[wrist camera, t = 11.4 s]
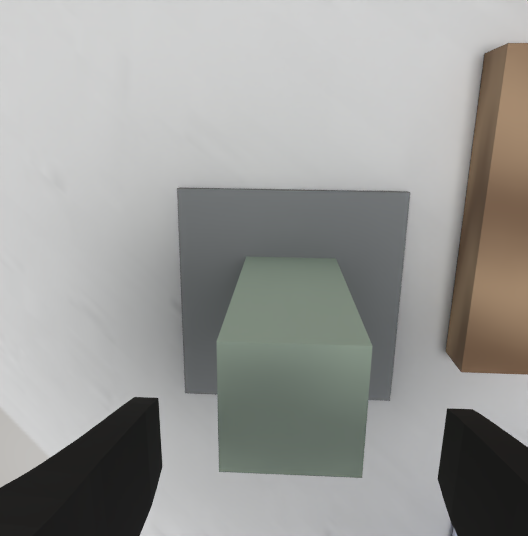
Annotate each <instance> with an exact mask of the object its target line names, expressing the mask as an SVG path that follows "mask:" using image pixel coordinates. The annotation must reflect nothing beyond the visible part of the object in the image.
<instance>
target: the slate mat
mask: <svg viewBox="0 0 528 536" xmlns="http://www.w3.org/2000/svg"><path fill="white" fill-rule="evenodd" d="M177 196H178V221H179V247H180V272H181V298H182V323H183V349H184V375H185V393H195V394H218V392H217V342H216V341H217V339H218V336H219V333H220V330H221V327H222V324H223V322H224V319H225V316H226V313H227V310H228V307H229V305H230V302H231V299H232V296H233V293H234V290H235V288H236V285H237V282H238V279H239V276H240V273H241V270H242V268H243V265H244V262H245V259H246V257H290V258H336V260H337V262H338V265H339V267H340V269H341V272H342V274H343V277H344V279H345V281H346V284H347V286H348V289H349V291H350V293H351V296H352V298H353V301H354V303H355V305H356V308H357V310H358V313H359V315H360V317H361V320H362V322H363V324H364V327H365V329H366V332H367V334H368V336H369V339H370V341H371V344H372V346H373V347H372V359H371V372H370V384H369V396H368V400H385V401H390V394H391V383H392V373H393V363H394V353H395V343H396V332H397V322H398V312H399V302H400V292H401V281H402V271H403V261H404V251H405V241H406V230H407V220H408V210H409V200H410V192H397V191H338V190H279V189H221V188H178V189H177Z"/></svg>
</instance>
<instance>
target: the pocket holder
mask: <svg viewBox="0 0 528 536" xmlns="http://www.w3.org/2000/svg"><path fill="white" fill-rule="evenodd" d="M446 353H447V354H448V355H449V357H450V358H451V359H452V361H453V362H454V363H455V365H456V366H457V367H458V369H459V370H460V371H461V372H472V373H502V374H528V43H508V44H505V45H503V46H501V47H499V48H496V49H494V50H492V51H490V52H487V53H485V55H484V63H483V71H482V78H481V86H480V93H479V101H478V109H477V116H476V124H475V132H474V139H473V147H472V154H471V162H470V170H469V177H468V185H467V193H466V200H465V208H464V215H463V223H462V231H461V238H460V246H459V254H458V261H457V269H456V276H455V284H454V292H453V299H452V307H451V315H450V322H449V330H448V337H447V345H446Z"/></svg>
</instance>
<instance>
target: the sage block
mask: <svg viewBox="0 0 528 536" xmlns="http://www.w3.org/2000/svg"><path fill="white" fill-rule="evenodd" d="M216 342H217V392H218V441H219V472H237V473H260V474H284V475H308V476H331V477H355V478H362V471H363V458H364V446H365V434H366V421H367V409H368V396H369V384H370V372H371V359H372V347H373V346H372V344H371V341H370V339H369V336H368V334H367V332H366V329H365V327H364V324H363V322H362V320H361V317H360V315H359V313H358V310H357V308H356V305H355V303H354V301H353V298H352V296H351V293H350V291H349V289H348V286H347V284H346V281H345V279H344V277H343V274H342V272H341V269H340V267H339V265H338V262H337V260H336V258H290V257H246V259H245V262H244V265H243V268H242V270H241V273H240V276H239V279H238V282H237V285H236V288H235V290H234V293H233V296H232V299H231V302H230V305H229V307H228V310H227V313H226V316H225V319H224V322H223V324H222V327H221V330H220V333H219V336H218V339H217V341H216Z"/></svg>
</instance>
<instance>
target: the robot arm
mask: <svg viewBox="0 0 528 536" xmlns="http://www.w3.org/2000/svg"><path fill="white" fill-rule="evenodd" d="M161 470H162V454H161V437H160V420H159V403H158V398H144V397H134V398H133V399H131V400H130V401H128V402H127V403H125V404H124V405H123V406H121V407H120V408H119V409H117V410H116V411H115V412H113V413H112V414H111V415H109V416H108V417H107V418H106V419H104V420H103V421H102V422H100V423H99V424H98V425H96V426H95V427H93V428H92V429H91V430H89V431H88V432H87V433H85V434H84V435H83V436H81V437H80V438H79V439H77V440H76V441H74V442H73V443H71V444H70V445H68V446H67V447H65V448H64V449H62V450H61V451H59V452H58V453H56V454H55V455H53V456H52V457H51V458H49V459H48V460H46V461H45V462H43V463H42V464H40V465H38V466H37V467H36V468H34V469H32V470H30V471H29V472H27V473H25V474H24V475H22V476H21V477H19V478H17V479H15V480H13V481H11V482H10V483H8V484H6V485H4V486H3V487H1V488H0V536H140V533H141V531H142V528H143V526H144V523H145V521H146V518H147V516H148V513H149V511H150V508H151V506H152V502H153V499H154V495H155V492H156V489H157V485H158V481H159V477H160V473H161ZM438 481H439V484H440V488H441V491H442V495H443V498H444V501H445V505H446V508H447V511H448V514H449V517H450V520H451V522H452V525H453V534H452V536H528V447H526V446H525V445H524V444H522V443H521V442H519V441H518V440H517V439H515V438H514V437H512V436H511V435H510V434H508V433H507V432H505V431H504V430H503V429H501V428H500V427H498V426H497V425H495V424H494V423H493V422H491V421H490V420H488V419H487V418H485V417H484V416H482V415H481V414H479V413H478V412H476V411H474V410H473V409H447V414H446V422H445V429H444V436H443V444H442V451H441V459H440V466H439V473H438Z"/></svg>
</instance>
